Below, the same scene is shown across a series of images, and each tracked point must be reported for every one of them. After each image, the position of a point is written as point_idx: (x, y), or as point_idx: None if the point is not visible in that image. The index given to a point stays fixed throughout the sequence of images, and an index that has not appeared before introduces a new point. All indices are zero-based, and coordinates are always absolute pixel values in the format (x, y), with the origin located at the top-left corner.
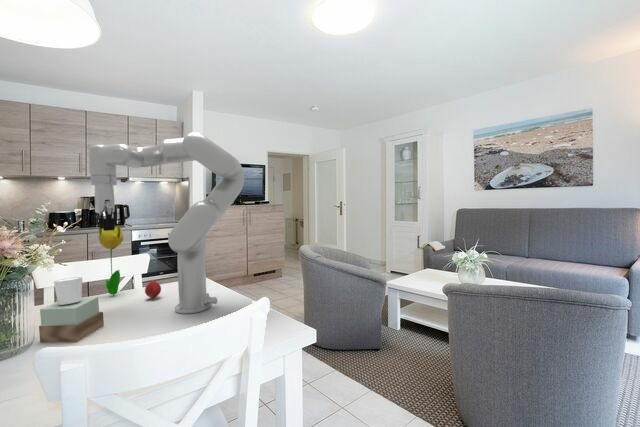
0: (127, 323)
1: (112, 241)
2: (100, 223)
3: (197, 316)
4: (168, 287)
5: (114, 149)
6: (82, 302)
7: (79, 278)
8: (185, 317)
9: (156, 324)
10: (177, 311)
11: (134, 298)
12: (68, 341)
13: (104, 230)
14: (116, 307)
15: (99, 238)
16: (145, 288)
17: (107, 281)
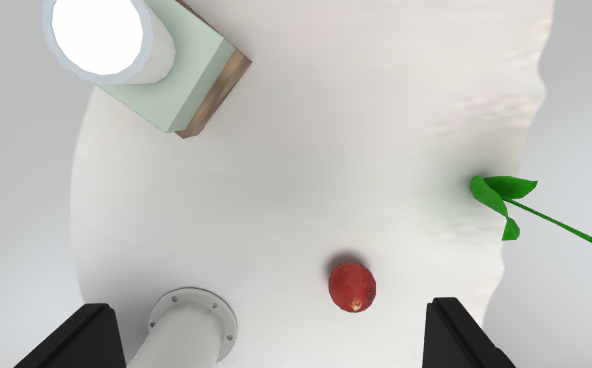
0: (180, 183)
1: None
2: (459, 353)
3: (128, 314)
4: None
5: None
6: (125, 85)
7: (75, 73)
8: (138, 293)
9: (131, 234)
10: (176, 290)
11: (393, 231)
12: None
13: (88, 307)
14: (339, 178)
15: None
16: (354, 271)
17: (529, 185)
